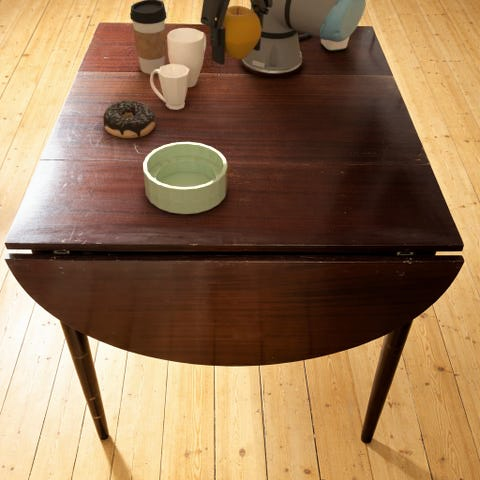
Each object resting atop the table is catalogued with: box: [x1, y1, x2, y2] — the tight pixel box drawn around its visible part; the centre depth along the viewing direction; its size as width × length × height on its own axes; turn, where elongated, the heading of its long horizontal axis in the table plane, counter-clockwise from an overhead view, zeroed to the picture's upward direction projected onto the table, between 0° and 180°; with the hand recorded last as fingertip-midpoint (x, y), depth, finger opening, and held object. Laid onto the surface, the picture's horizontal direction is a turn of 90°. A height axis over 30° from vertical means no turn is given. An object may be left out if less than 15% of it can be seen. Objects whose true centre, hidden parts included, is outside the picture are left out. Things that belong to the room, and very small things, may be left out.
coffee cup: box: [129, 0, 167, 75], centre depth 146 cm, size 8×8×15 cm
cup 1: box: [149, 63, 190, 110], centre depth 137 cm, size 7×10×8 cm
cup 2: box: [320, 35, 351, 51], centre depth 157 cm, size 7×7×15 cm
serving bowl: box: [142, 141, 228, 215], centre depth 115 cm, size 15×15×6 cm
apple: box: [215, 5, 262, 60], centre depth 114 cm, size 9×9×9 cm
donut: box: [102, 99, 156, 139], centre depth 131 cm, size 11×12×4 cm
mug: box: [166, 27, 207, 88], centre depth 143 cm, size 12×8×11 cm
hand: (236, 54), depth 117 cm, fingers closed on apple, 9 cm apart
